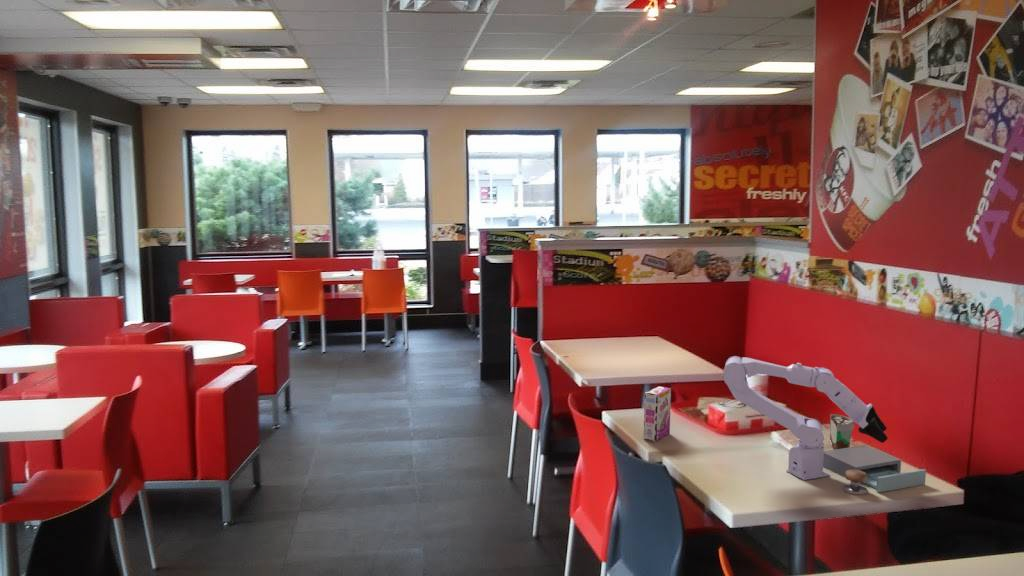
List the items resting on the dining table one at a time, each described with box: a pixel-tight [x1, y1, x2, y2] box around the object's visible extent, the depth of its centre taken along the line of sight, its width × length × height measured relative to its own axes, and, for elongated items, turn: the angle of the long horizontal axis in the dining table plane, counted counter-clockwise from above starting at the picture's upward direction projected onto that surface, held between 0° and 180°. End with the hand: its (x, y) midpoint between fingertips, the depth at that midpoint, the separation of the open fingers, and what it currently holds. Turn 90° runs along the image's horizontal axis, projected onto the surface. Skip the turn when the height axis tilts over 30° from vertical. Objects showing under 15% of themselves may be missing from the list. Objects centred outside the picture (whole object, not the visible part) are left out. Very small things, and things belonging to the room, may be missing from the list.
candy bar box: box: [642, 386, 672, 442], centre depth 271 cm, size 11×5×16 cm, turn 144°
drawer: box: [860, 466, 927, 493], centre depth 231 cm, size 13×17×4 cm
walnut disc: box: [844, 470, 867, 483], centre depth 224 cm, size 5×5×2 cm
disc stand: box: [842, 481, 869, 495], centre depth 224 cm, size 6×6×4 cm
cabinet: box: [823, 444, 902, 478], centre depth 240 cm, size 14×17×4 cm
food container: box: [829, 413, 855, 450], centre depth 257 cm, size 12×6×10 cm, turn 168°
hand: (884, 435), depth 229 cm, fingers open, 7 cm apart
